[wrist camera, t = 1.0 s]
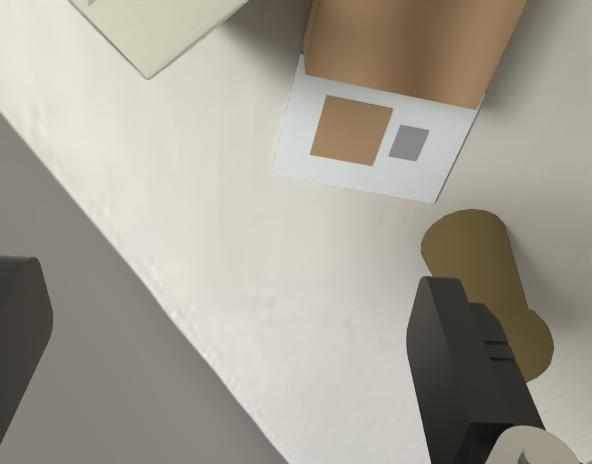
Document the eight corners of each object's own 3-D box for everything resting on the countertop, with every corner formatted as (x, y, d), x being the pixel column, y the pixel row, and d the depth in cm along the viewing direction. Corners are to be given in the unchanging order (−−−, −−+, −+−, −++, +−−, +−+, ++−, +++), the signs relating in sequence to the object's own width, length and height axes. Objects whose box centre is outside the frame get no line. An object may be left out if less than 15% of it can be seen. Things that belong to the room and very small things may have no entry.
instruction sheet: (271, 173, 35) (271, 175, 35) (300, 52, 30) (300, 54, 30) (433, 201, 37) (434, 204, 37) (485, 92, 32) (486, 94, 32)
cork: (446, 199, 37) (497, 325, 29) (523, 221, 38) (594, 347, 30) (406, 263, 41) (440, 392, 32) (478, 281, 42) (530, 409, 34)
